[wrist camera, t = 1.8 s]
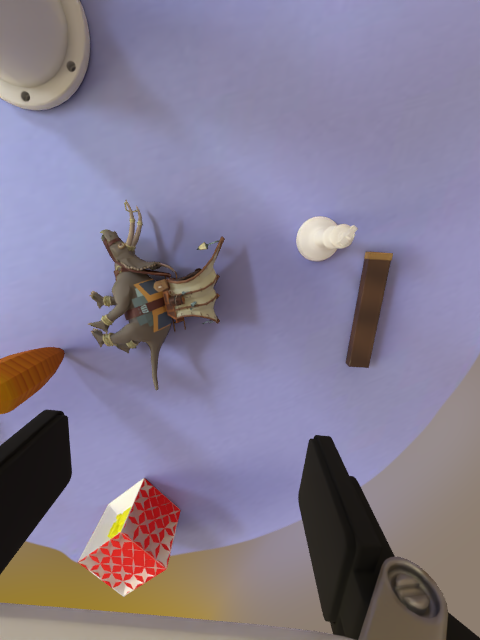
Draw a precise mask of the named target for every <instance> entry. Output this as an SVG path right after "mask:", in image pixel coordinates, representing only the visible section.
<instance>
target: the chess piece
mask: <svg viewBox="0 0 480 640" xmlns="http://www.w3.org/2000/svg"><path fill="white" fill-rule="evenodd" d="M357 229H358V228H356V227H355V226H354V225H353V226H351V227H350V226H349V225H346V224H341V225H338V226H337V225H336V223H335V222H334V221H333V220H331V219H329V218H327V217H320V216H319V217H313V218H310V219H309V220H307V221H306V222H304V223H303V224H302V226H301V227H300V229H299V231H298V233H297V238H296V243H297V248H298V250H299V252H300V253H301V255H302V256H303V257H305V258H306V259H308V260H311V261H322V260H325V259H327V258H329V257H330V256H332V255H333V254H334V253H335V252H336V250H337V249H338V248H346V247H348V246H349V245H350V244H351V243H352V241H353V239H354V236H355V234H354V233H355V232H356V230H357Z"/></svg>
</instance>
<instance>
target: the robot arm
mask: <svg viewBox="0 0 480 640" xmlns="http://www.w3.org/2000/svg"><path fill="white" fill-rule="evenodd" d="M89 56H90V36H89V28H88V23H87V19H86V16H85V13H84V9H83V7H82V5H81V2H80V0H0V98H2V99H3V100H5V101H7V102H9V103H10V104H12V105H15V106H18V107H20V108H23V109H29V110H46V109H50V108H53V107H56V106H59V105H60V104H62V103H63V102H65V101H66V100H68V99H69V98H70V97H71V96H72V95H73V94H74V93H75V92H76V91H77V89H78V87H79V86H80V84H81V82H82V81H83V78H84V76H85V73H86V70H87V67H88V62H89ZM71 475H72V468H71V454H70V441H69V427H68V417H67V416H65V415H64V413H63V412H62V411H55V410H44V411H43V412H41V413H40V414H39V415H38V416H36V417H35V418H34V419H33V420H31V421H30V422H29V423H28V424H26V425H25V426H24V427H23V428H22V429H20V430H19V431H18V432H17V433H15V434H14V435H13V436H12V437H10V438H9V439H8V440H7V441H5V442H4V443H3V444H2V445H1V446H0V574H1V573H2V571H3V570H4V569H5V567H6V566H7V565H8V563H9V562H10V561H11V559H12V558H13V557H14V555H15V554H16V553H17V551H18V550H19V548H20V547H21V546H22V545H23V543H24V542H25V541H26V539H27V538H28V537H29V535H30V534H31V533H32V531H33V530H34V529H35V527H36V526H37V525H38V523H39V522H40V521H41V519H42V518H43V517H44V515H45V514H46V513H47V511H48V510H49V508H50V507H51V506H52V504H53V503H54V502H55V500H56V499H57V498H58V496H59V495H60V494H61V492H62V491H63V490H64V488H65V487H66V486H67V484H68V483H69V481H70V479H71ZM298 498H299V507H300V511H301V516H302V521H303V525H304V530H305V534H306V538H307V542H308V548H309V553H310V557H311V561H312V566H313V571H314V576H315V580H316V585H317V589H318V594H319V598H320V603H321V608H322V612H323V616H324V619H325V621H329V622H330V623H331V627H332V631H333V634H327V633H321V632H316V631H309V630H300V629H291V628H282V627H274V626H264V625H256V624H244V623H233V622H223V621H212V620H201V619H190V618H178V617H168V616H155V615H144V614H133V613H120V612H109V611H96V610H84V609H72V608H60V607H48V606H35V605H22V604H8V603H0V640H480V638H479V637H478V636H477V635H475V634H474V633H473V632H472V631H470V630H469V629H468V628H467V627H466V626H464V625H463V624H462V623H461V622H459V621H458V620H457V619H456V618H454V617H453V616H452V615H451V614H449V613H448V610H447V603H446V601H445V598H444V596H443V593H442V592H441V590H440V589H439V587H438V586H437V584H436V583H435V581H434V580H433V579H432V578H431V577H430V576H429V575H428V574H427V573H426V572H425V571H424V570H423V569H422V568H420V567H419V566H418V565H416V564H415V563H413V562H411V561H409V560H407V559H404V558H401V557H395V556H394V554H393V552H392V550H391V548H390V546H389V544H388V542H387V541H386V538H385V536H384V534H383V532H382V530H381V528H380V526H379V524H378V522H377V520H376V518H375V516H374V514H373V512H372V510H371V508H370V505H369V504H368V501H367V499H366V497H365V495H364V493H363V491H362V489H361V487H360V485H359V483H358V481H357V480H356V478H354V477H353V476H349V475H348V472H347V470H346V468H345V466H344V464H343V462H342V459H341V457H340V455H339V453H338V451H337V449H336V447H335V444H334V442H333V440H332V438H331V437H330V436H320V435H315V436H314V439H310V440H309V443H308V448H307V454H306V459H305V464H304V469H303V474H302V479H301V484H300V489H299V497H298Z"/></svg>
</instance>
